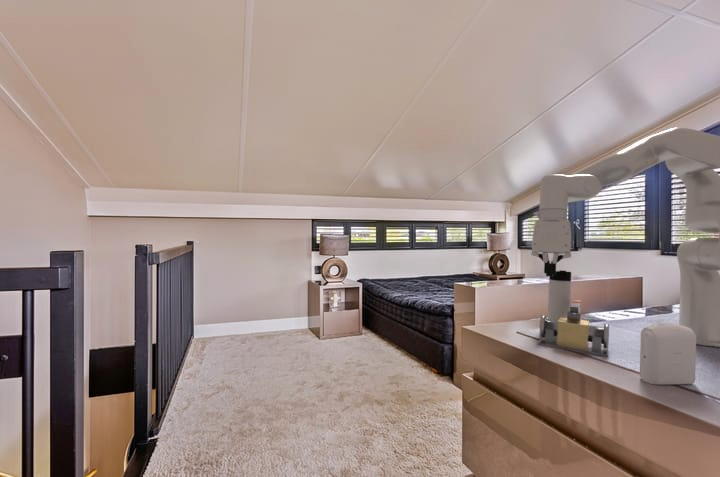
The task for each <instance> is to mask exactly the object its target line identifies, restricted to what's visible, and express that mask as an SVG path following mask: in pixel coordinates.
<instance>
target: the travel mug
mask: <svg viewBox="0 0 720 477" xmlns="http://www.w3.org/2000/svg"><path fill="white" fill-rule="evenodd" d="M548 277H549V279H548V297H547V300H548V301H547V303H548V304H547V319H549V320H556V321H558V320H559V319H560V317H564V318H567V312H570V306H571V304H572V303H571V299H572V272H571V271H567V270H561V269H560V270H556V274H553V277H550V276H548Z"/></svg>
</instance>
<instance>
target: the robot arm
mask: <svg viewBox="0 0 720 477" xmlns="http://www.w3.org/2000/svg"><path fill="white" fill-rule="evenodd" d="M663 162H665V166H666V168H667V170H669V171H670V172H671V173H672V174H673V175H675V176H676V177H678V179H680V180H681V182H682V183H683V184H684V187H685V191H686V192H685V193H686V195H685V196H686V199H685V213H684V214H685V216H684V218H685V219H684V221H685V226H686V228H687V229H688V230H689V231H691V232H693V233H697V234H698V233H699V234H719V237H694V238H693V237H692V238H690V239H689V238H688V239H686V240H684V241H683V242H681V243H680V244H679V245H678V248H677V251H676V258H677V262H678V268H679V275H680V276H679V277H680V280H679V281H680V282H679V283H680V284H679V285H680V286H679V309H678V310H679V313H678V325H682V326H685V327H688V328H690V329H692V330H693V332H694V333H695V335H696V345H699V346H705V347H713V346H714V347H715V348H720V272H719V271H720V174H719V173H718V172H717V171H715V169H716V170H717V169H719V168H720V135H716V134H713V133H709V132H705V131H701V130H697V129H692V128H688V127H674V128H670V129H667V130H664V131H661V132H659V133H655V134H652V135H650V136H647V137H645V138H643V139H641V140H639V141H637V142H635V143H633V144H632V145H630V146H628V147H626V148H624V149H622V150H619V151H618V152H615V153H613V154H612V155H610V156H608V157H606V158H604V159H602V160H599V161H597V162H596V163H594V164H592V165H590V166H587V167H586V168H583V169H582V170H579V171H577V172H576V173H574V174H572V175H565V174H559V173H558V174H548V175H544V176H542V178H541V179H540V190H539V191H540V192H539V193H540V194H539V208H538V211H536V212H535V211H534V212H533V217H537V218H538V220H537V219H535V222H534V225H533V226H534V227H533V232H532V241H531V252H530V254H531V256H534V257H538V258H539V259H540V260H541V261H542V262H543V263H544V268H543V274H545V276H546V277H553V274H556V271H557V263H559V262H560V261H561V260H564V259H570V258H572V253H571V249H572V230H571V222H570V220H568V208H569V207H568V206H569V205H568V204H569V203H573V202H580V201H586V200H591V199H593V198H595V197H596V196H598V195H599V193H601V190H602V188H604V187H606V186H611V185H613V184H618V183H620V182H623V181H626V180H628V179H630V178H632V177H635V176H636V175H638V174H640V173H642V172H644V171H646V170H648V169H650V168H652V167H654V166H655V165H658V164H660V163H663ZM549 254H553V256H552V260H551V261H550V258H549Z"/></svg>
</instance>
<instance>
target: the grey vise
mask: <svg viewBox="0 0 720 477" xmlns="http://www.w3.org/2000/svg"><path fill="white" fill-rule="evenodd" d="M609 334H610V325H609V323H604V324H603V327H602V326H597V325H590V320H584V319H580V321H570V320H567V318H564V317H560V319H559V320H558V321H556V320H549V319H548V317H547V315H545V314H541V316H540V321H539V337H540V339H539V341H537V342H538V343H537V344H538V346H539V345H540V346H545V347H550V348H556V349H561V350H567V351H572V352H577V353H578V352H579V353H583V354H589V355H594V356H600V357H606V358H608V357H609V341H610V340H609V337H610V335H609Z"/></svg>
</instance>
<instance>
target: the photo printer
mask: <svg viewBox="0 0 720 477" xmlns="http://www.w3.org/2000/svg"><path fill="white" fill-rule="evenodd" d="M639 348H640V353H639V354H640V356H639V357H640V358H639V376H640V378H641V380H642V381H643V382H646V384H647V383H648V384H651V385H691V384H695V382H696V366H697V365H696V364H697V361H696V360H697V354H696V353H697V344H696V335H695V333H694V332H693V330H692V329H690V328H688V327H685V326H682V325H679V323H672V322H658V323H654V324H651V325H647V326H645V327H643V328H642V329H641V332H640V346H639Z"/></svg>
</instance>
